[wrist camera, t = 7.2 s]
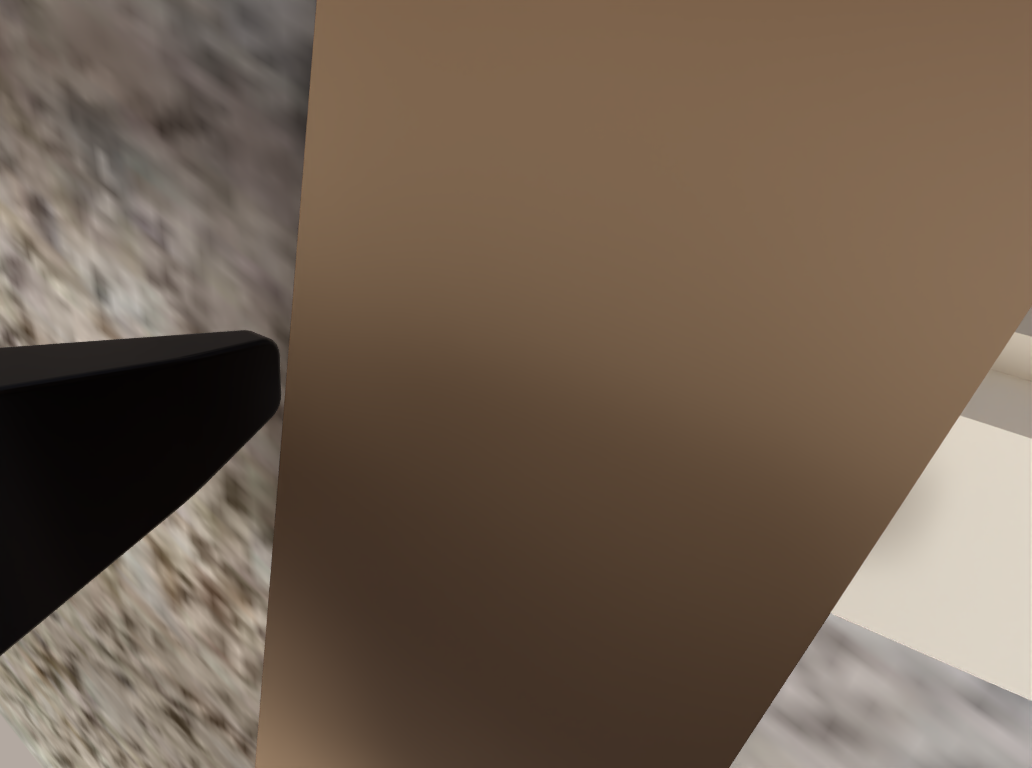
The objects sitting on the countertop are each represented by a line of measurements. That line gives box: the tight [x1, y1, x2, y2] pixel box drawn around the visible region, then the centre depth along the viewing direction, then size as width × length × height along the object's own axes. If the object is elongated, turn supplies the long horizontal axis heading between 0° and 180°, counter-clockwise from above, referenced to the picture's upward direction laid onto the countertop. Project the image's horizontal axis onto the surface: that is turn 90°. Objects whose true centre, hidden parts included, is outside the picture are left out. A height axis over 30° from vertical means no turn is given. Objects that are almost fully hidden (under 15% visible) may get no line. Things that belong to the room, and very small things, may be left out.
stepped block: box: [831, 306, 1032, 701], centre depth 11 cm, size 4×11×3 cm, turn 83°
